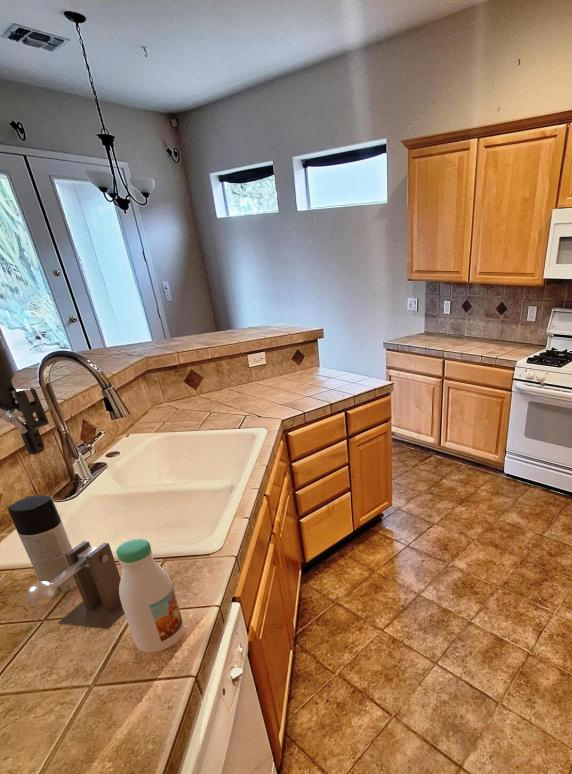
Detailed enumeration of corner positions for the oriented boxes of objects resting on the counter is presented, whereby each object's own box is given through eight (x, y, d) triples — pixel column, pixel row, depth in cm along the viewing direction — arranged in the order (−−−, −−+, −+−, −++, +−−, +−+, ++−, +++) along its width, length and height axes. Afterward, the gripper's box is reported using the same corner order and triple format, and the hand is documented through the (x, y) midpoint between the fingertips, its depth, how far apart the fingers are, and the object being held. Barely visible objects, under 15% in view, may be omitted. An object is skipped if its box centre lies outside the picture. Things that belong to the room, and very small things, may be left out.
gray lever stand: (110, 633, 77) (86, 571, 71) (59, 627, 78) (32, 566, 72) (152, 590, 88) (135, 533, 82) (107, 585, 89) (87, 528, 83)
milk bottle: (146, 664, 71) (113, 566, 62) (130, 640, 76) (96, 546, 67) (193, 638, 76) (168, 545, 67) (175, 617, 81) (149, 527, 72)
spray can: (93, 579, 90) (61, 495, 82) (65, 600, 84) (28, 513, 76) (65, 575, 91) (31, 492, 82) (36, 596, 85) (-4, 509, 76)
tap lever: (46, 610, 68) (38, 592, 66) (25, 608, 68) (17, 590, 66) (107, 561, 79) (102, 545, 78) (90, 559, 80) (84, 543, 78)
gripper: (37, 345, 65) (71, 446, 72) (-46, 342, 66) (-4, 440, 74) (-12, 353, 58) (32, 463, 65) (-102, 349, 60) (-50, 457, 67)
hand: (13, 451), depth 69 cm, fingers open, 8 cm apart
